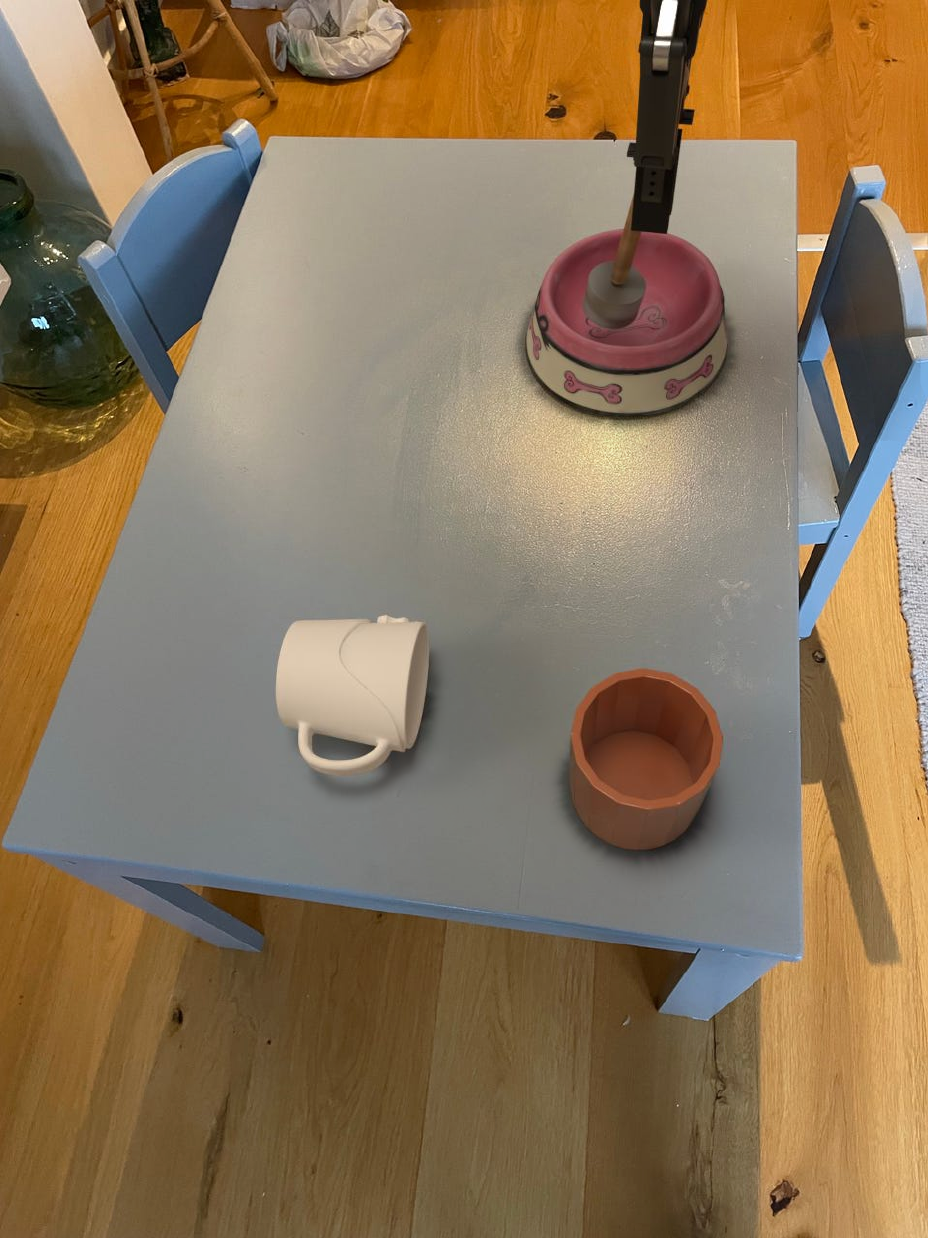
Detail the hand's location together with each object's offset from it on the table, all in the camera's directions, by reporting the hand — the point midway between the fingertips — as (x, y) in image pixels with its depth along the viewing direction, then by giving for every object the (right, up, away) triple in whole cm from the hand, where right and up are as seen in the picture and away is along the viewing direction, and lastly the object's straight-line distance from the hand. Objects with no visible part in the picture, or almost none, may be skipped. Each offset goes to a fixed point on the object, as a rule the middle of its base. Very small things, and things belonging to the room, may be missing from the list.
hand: (651, 218), depth 70 cm
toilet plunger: (-2, -4, +9) cm, 10 cm away
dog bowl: (+1, -5, +16) cm, 17 cm away
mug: (-22, -38, +1) cm, 44 cm away
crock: (-2, -42, -4) cm, 43 cm away
